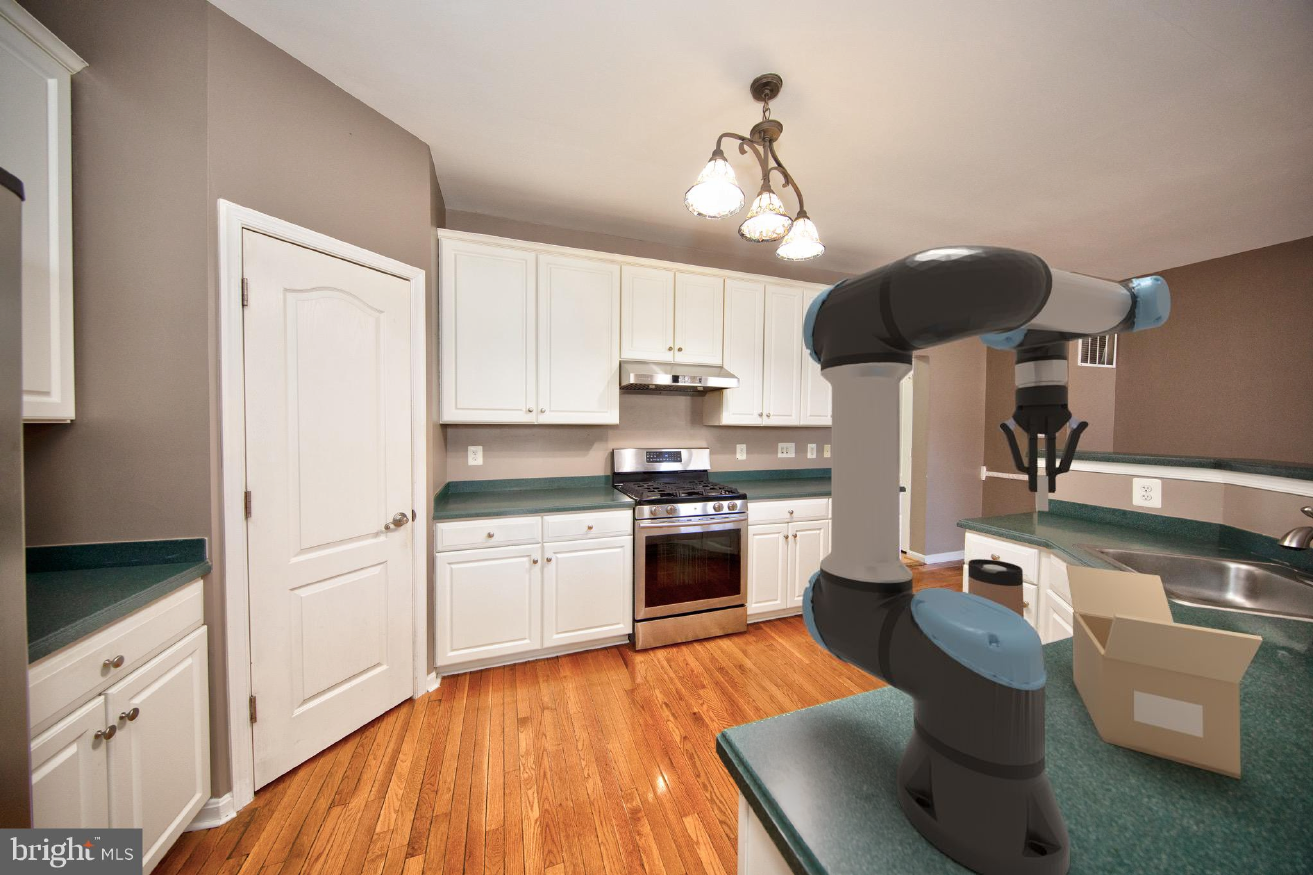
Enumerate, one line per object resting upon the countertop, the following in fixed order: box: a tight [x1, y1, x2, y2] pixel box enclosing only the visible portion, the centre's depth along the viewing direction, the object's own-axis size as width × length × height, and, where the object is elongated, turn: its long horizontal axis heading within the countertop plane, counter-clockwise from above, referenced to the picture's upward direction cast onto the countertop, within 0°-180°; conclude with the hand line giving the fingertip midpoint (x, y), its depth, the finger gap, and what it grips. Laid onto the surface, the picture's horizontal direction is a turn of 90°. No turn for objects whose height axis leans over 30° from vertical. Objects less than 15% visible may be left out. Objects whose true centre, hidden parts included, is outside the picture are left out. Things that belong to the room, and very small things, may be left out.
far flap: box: [1065, 564, 1175, 623], centre depth 74 cm, size 9×12×1 cm
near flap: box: [1104, 614, 1264, 685], centre depth 54 cm, size 9×12×1 cm
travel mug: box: [967, 558, 1025, 619], centre depth 75 cm, size 8×8×20 cm
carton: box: [1072, 611, 1242, 780], centre depth 64 cm, size 18×12×12 cm, turn 145°
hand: (1041, 509), depth 82 cm, fingers closed
